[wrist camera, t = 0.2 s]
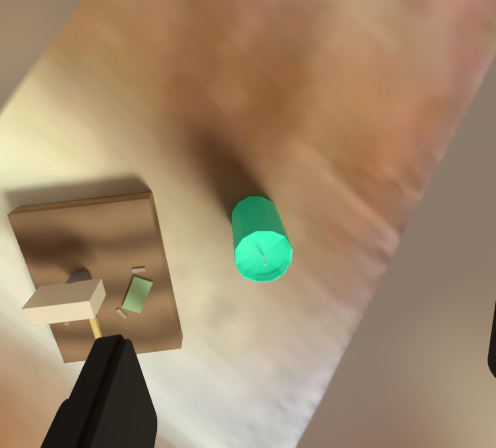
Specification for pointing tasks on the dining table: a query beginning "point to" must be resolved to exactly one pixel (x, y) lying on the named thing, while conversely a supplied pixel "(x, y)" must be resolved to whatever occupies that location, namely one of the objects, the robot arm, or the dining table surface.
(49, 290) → the wooden toy mallet
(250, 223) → the candle
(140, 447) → the robot arm
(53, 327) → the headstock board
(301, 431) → the dining table surface
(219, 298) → the dining table surface
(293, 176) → the dining table surface
